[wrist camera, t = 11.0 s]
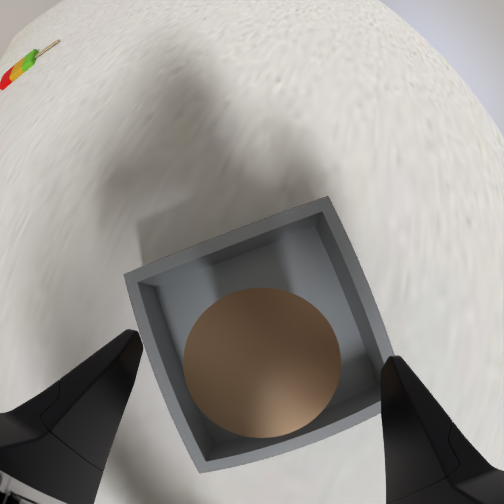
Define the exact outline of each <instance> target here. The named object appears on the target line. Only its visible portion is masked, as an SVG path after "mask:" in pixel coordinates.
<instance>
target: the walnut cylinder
mask: <svg viewBox="0 0 504 504" xmlns="http://www.w3.org/2000/svg"><path fill="white" fill-rule="evenodd" d="M340 370H341V354H340V348H339V344H338V341H337V337H336V335H335V333H334V331H333V329H332V327H331V325H330V324H329V322H328V321H327V319H326V318H325V317H324V315H323V314H322V313H321V312H320V311H319V310H318V309H317V308H316V307H315V306H313V305H312V304H311V303H309V302H308V301H306V300H305V299H303V298H301V297H299V296H297V295H295V294H293V293H290V292H287V291H284V290H280V289H275V288H264V287H262V288H250V289H244V290H240V291H237V292H234V293H231V294H229V295H227V296H225V297H223V298H221V299H220V300H218V301H216V302H215V303H213V304H212V305H211V306H210V307H209V308H207V309H206V310H205V311H204V312H203V314H202V315H201V316H200V317H199V318H198V320H197V321H196V322H195V324H194V325H193V327H192V329H191V331H190V333H189V335H188V338H187V341H186V344H185V349H184V355H183V371H184V377H185V382H186V385H187V387H188V390H189V392H190V394H191V396H192V398H193V400H194V402H195V403H196V405H197V406H198V408H199V409H200V410H201V411H202V412H203V413H204V414H205V415H206V416H207V417H208V418H209V419H210V420H211V421H213V422H214V423H216V424H217V425H219V426H220V427H222V428H224V429H226V430H228V431H230V432H233V433H236V434H238V435H242V436H247V437H255V438H270V437H276V436H281V435H285V434H288V433H291V432H293V431H296V430H298V429H300V428H302V427H303V426H305V425H307V424H308V423H310V422H311V421H312V420H313V419H315V418H316V417H317V416H318V415H319V414H320V413H321V412H322V411H323V410H324V408H325V407H326V406H327V404H328V403H329V402H330V400H331V398H332V396H333V395H334V392H335V390H336V387H337V385H338V381H339V377H340Z"/></svg>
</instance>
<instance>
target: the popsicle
mask: <svg viewBox="0 0 504 504" xmlns="http://www.w3.org/2000/svg"><path fill="white" fill-rule="evenodd" d="M58 42H59V40H57V41H55V42H54V43H52V44H51V45H49V46H48V47H46V48H45V49H44V50H42V51H41V52H39V53H38V51H37V50H36V49H34V50H33V51H31V52H30V53H29V54H28V55H26V56H25V57H24V58H22V59H21V60H20V61H19V62H18V63H16V64H15V65H14V66H13V67H12V68H10V69H9V70H8V71H7V72H6V73H5V74H4V75H3V77H2V79H1V82H0V89H1V90H3V89H5V88H6V87H7V86H8V85H9V84H11V83H12V82H13V81H14V80H15V79H16V78H18V77H19V76H20V75H21V74H23V73H24V72H25V71H26V70H28V69H29V68H30V67H32V66H33V65H34V63H35V60H36V57H38V56H39V55H41V54H42V53H43V52H45V51H46V50H48V49H49V48H51V47H52V46H53V45H55V44H56V43H58Z"/></svg>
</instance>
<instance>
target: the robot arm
mask: <svg viewBox="0 0 504 504" xmlns="http://www.w3.org/2000/svg"><path fill="white" fill-rule="evenodd" d="M142 352H143V344H142V341H141V338H140V335H139V333H138V332H137V331H135V330H131V329H127V330H125V331H124V332H122V333H121V334H120V335H118V336H117V337H116V338H114V339H113V340H112V341H110V342H109V343H108V344H106V345H105V346H104V347H102V348H101V349H100V350H98V351H97V352H95V353H94V354H93V355H91V356H90V357H89V358H87V359H86V360H85V361H83V362H82V363H81V364H79V365H78V366H77V367H75V368H74V369H73V370H71V371H70V372H69V373H67V374H66V375H65V376H63V377H62V378H61V379H60V380H58V381H57V382H55V383H54V384H53V385H51V386H50V387H49V388H47V389H46V390H44V391H43V392H41V393H40V394H38V395H37V396H35V397H34V398H32V399H30V400H29V401H27V402H25V403H24V404H22V405H20V406H19V407H17V408H15V409H13V410H12V411H9V412H6V413H0V504H94V501H95V498H96V494H97V491H98V488H99V484H100V481H101V478H102V475H103V471H104V468H105V465H106V462H107V458H108V455H109V452H110V449H111V446H112V444H113V441H114V438H115V435H116V432H117V429H118V426H119V423H120V421H121V418H122V415H123V412H124V410H125V407H126V404H127V402H128V399H129V396H130V394H131V391H132V388H133V385H134V382H135V378H136V375H137V371H138V367H139V363H140V360H141V356H142ZM380 378H381V417H382V427H383V439H384V452H385V471H386V504H504V471H502V470H499V469H497V468H495V467H493V466H492V465H490V464H489V463H488V462H487V461H486V460H485V459H484V457H483V456H482V455H481V454H480V453H479V452H478V451H477V450H476V449H475V448H474V447H473V446H472V444H471V443H470V442H469V441H468V440H467V439H466V438H465V436H464V435H463V434H462V433H461V431H460V430H459V429H458V428H457V426H456V425H455V424H454V422H452V420H451V419H450V417H449V416H448V415H447V413H446V412H445V411H444V409H443V408H442V407H441V406H440V404H439V403H438V402H437V400H436V399H435V398H434V397H433V395H432V394H431V393H430V392H429V390H428V389H427V388H426V387H425V385H424V384H423V383H422V382H421V380H420V379H419V378H418V377H417V376H416V374H415V373H414V372H413V371H412V369H411V368H410V367H409V366H408V365H407V363H406V362H405V361H404V360H403V359H402V357H400V356H398V355H397V356H389V357H388V359H387V360H386V362H385V364H384V366H383V367H382V369H381V374H380Z"/></svg>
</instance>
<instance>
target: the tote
mask: <svg viewBox="0 0 504 504" xmlns="http://www.w3.org/2000/svg"><path fill="white" fill-rule="evenodd" d="M124 278H125V282H126V286H127V290H128V293H129V297H130V301H131V304H132V308H133V311H134V315H135V318H136V321H137V325H138V328H139V331H140V334H141V337H142V340H143V343H144V346H145V349H146V352H147V355H148V358H149V361H150V364H151V366H152V369H153V372H154V375H155V377H156V380H157V382H158V385H159V388H160V390H161V393H162V395H163V398H164V400H165V402H166V405H167V407H168V409H169V412H170V414H171V416H172V419H173V421H174V423H175V425H176V428H177V430H178V432H179V434H180V436H181V438H182V440H183V442H184V445H185V447H186V449H187V451H188V453H189V455H190V457H191V459H192V460H193V462H194V464H195V466H196V468H197V470H198V472H199V473H205V472H211V471H216V470H221V469H226V468H231V467H235V466H239V465H244V464H248V463H252V462H255V461H259V460H263V459H266V458H270V457H273V456H276V455H280V454H283V453H286V452H289V451H292V450H295V449H298V448H301V447H304V446H306V445H309V444H312V443H315V442H317V441H320V440H322V439H325V438H327V437H330V436H332V435H335V434H337V433H339V432H342V431H344V430H346V429H348V428H351V427H353V426H355V425H357V424H359V423H361V422H363V421H366V420H368V419H370V418H372V417H374V416H376V415H378V414H379V413H381V378H380V374H381V369H382V367H383V366H384V364H385V362H386V360H387V359H388V357H389V356H395V355H394V352H393V349H392V346H391V343H390V340H389V337H388V335H387V332H386V329H385V326H384V323H383V321H382V318H381V315H380V313H379V310H378V307H377V305H376V302H375V300H374V297H373V294H372V292H371V289H370V287H369V285H368V282H367V280H366V277H365V275H364V272H363V270H362V268H361V265H360V263H359V261H358V258H357V256H356V254H355V251H354V249H353V247H352V245H351V243H350V240H349V238H348V236H347V234H346V232H345V229H344V227H343V225H342V223H341V221H340V219H339V217H338V215H337V213H336V211H335V208H334V206H333V204H332V202H331V200H330V198H329V196H326V197H323V198H320V199H317V200H315V201H312V202H309V203H306V204H304V205H301V206H298V207H295V208H293V209H290V210H287V211H284V212H282V213H279V214H276V215H273V216H271V217H268V218H265V219H263V220H260V221H257V222H255V223H252V224H249V225H247V226H244V227H241V228H239V229H236V230H234V231H231V232H228V233H226V234H223V235H221V236H218V237H215V238H213V239H210V240H208V241H205V242H203V243H200V244H197V245H195V246H192V247H190V248H187V249H185V250H182V251H180V252H177V253H175V254H172V255H170V256H167V257H165V258H162V259H160V260H157V261H155V262H152V263H150V264H147V265H145V266H143V267H140V268H138V269H135V270H133V271H130V272H128V273H126V274H124ZM262 287H264V288H275V289H280V290H284V291H287V292H290V293H293V294H295V295H297V296H299V297H301V298H303V299H305V300H306V301H308V302H309V303H311V304H312V305H313V306H315V307H316V308H317V309H318V310H319V311H320V312H321V313H322V314H323V315H324V317H325V318H326V319H327V321H328V322H329V324H330V325H331V327H332V329H333V331H334V333H335V335H336V337H337V341H338V344H339V348H340V354H341V370H340V377H339V381H338V385H337V387H336V390H335V392H334V395H333V396H332V398H331V400H330V402H329V403H328V404H327V406H326V407H325V408H324V410H323V411H322V412H321V413H320V414H319V415H318V416H317V417H316V418H315V419H313V420H312V421H311V422H310V423H308V424H307V425H305V426H303V427H302V428H300V429H298V430H296V431H293V432H291V433H288V434H285V435H281V436H276V437H270V438H255V437H247V436H242V435H238V434H236V433H233V432H230V431H228V430H226V429H224V428H222V427H220V426H219V425H217V424H216V423H214V422H213V421H211V420H210V419H209V418H208V417H207V416H206V415H205V414H204V413H203V412H202V411H201V410H200V409H199V408H198V406H197V405H196V403H195V402H194V400H193V398H192V396H191V394H190V392H189V390H188V387H187V385H186V382H185V377H184V371H183V355H184V349H185V344H186V341H187V338H188V335H189V333H190V331H191V329H192V327H193V325H194V324H195V322H196V321H197V320H198V318H199V317H200V316H201V315H202V314H203V312H204V311H205V310H206V309H207V308H209V307H210V306H211V305H212V304H213V303H215V302H216V301H218V300H220V299H221V298H223V297H225V296H227V295H229V294H231V293H234V292H237V291H240V290H244V289H250V288H262Z"/></svg>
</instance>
